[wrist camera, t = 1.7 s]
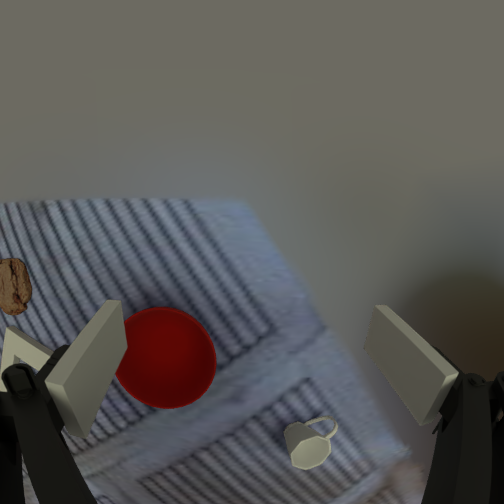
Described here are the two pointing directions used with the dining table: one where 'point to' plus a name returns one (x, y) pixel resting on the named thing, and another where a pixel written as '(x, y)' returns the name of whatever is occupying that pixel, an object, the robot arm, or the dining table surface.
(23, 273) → the cookie
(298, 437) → the cup
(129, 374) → the ceramic cup
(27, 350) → the socket plate
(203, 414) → the dining table surface
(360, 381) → the dining table surface
